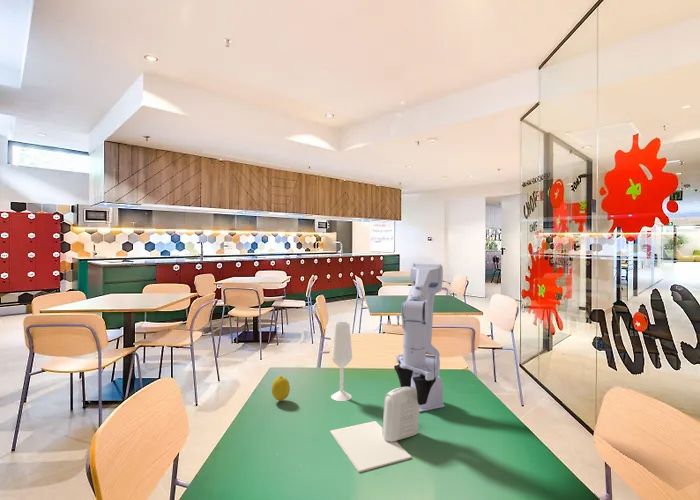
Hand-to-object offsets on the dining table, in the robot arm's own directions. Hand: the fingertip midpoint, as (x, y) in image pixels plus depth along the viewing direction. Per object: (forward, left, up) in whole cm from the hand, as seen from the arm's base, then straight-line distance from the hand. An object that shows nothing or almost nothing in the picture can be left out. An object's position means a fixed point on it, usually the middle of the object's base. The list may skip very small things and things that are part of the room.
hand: (413, 397), depth 94 cm
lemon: (+28, -32, -10) cm, 44 cm away
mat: (+13, 0, -9) cm, 16 cm away
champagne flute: (+9, -28, -10) cm, 31 cm away
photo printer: (+4, 0, -9) cm, 10 cm away
